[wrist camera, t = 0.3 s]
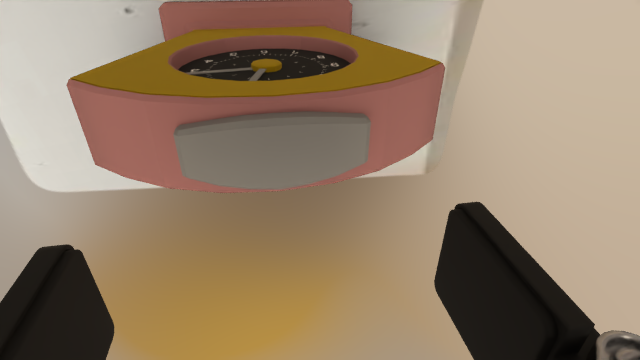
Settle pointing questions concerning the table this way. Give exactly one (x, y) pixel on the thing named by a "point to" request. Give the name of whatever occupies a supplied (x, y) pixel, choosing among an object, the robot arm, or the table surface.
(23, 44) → the table surface
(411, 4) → the table surface
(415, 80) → the clock
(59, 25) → the table surface
